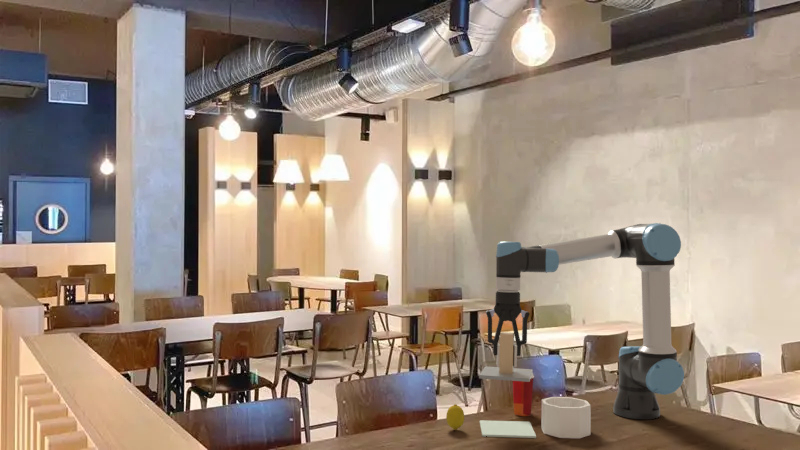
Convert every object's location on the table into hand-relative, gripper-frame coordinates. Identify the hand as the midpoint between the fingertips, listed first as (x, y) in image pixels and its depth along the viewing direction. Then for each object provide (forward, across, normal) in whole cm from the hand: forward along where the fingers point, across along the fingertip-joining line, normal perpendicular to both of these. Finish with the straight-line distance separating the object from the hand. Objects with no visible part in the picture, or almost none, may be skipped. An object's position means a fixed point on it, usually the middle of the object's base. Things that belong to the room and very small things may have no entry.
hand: (506, 366), depth 216 cm
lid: (+3, 0, -1) cm, 3 cm away
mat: (+20, 0, 0) cm, 20 cm away
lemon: (+20, -16, -2) cm, 26 cm away
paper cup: (+20, +7, +20) cm, 29 cm away
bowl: (+20, +18, 0) cm, 27 cm away
